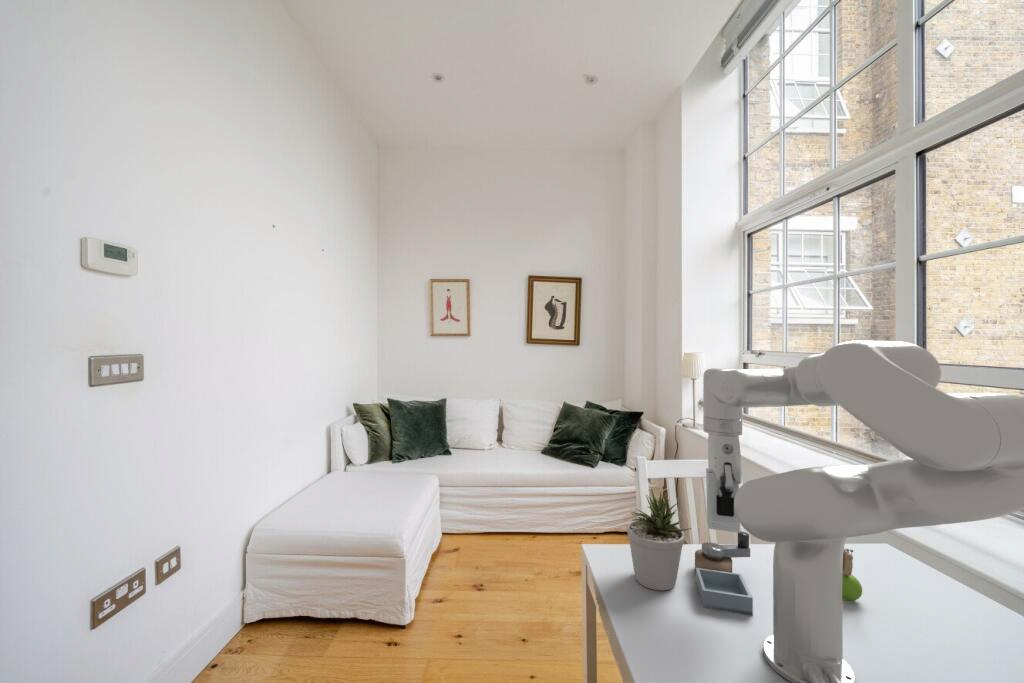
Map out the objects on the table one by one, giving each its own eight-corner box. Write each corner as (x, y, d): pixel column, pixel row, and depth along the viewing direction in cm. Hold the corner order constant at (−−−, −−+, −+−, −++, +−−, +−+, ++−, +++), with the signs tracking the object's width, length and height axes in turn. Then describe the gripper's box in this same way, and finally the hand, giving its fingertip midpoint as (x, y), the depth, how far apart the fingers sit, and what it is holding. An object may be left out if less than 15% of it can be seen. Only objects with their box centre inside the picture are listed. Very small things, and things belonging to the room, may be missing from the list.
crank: (708, 561, 96) (708, 539, 96) (697, 550, 101) (697, 530, 101) (755, 559, 96) (755, 538, 97) (741, 549, 101) (741, 529, 102)
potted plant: (699, 597, 89) (699, 504, 89) (635, 596, 89) (635, 503, 89) (677, 566, 101) (677, 484, 102) (620, 565, 102) (621, 484, 102)
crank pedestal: (736, 585, 93) (736, 568, 93) (697, 580, 95) (697, 562, 96) (727, 566, 102) (727, 550, 102) (692, 561, 104) (692, 545, 104)
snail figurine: (833, 604, 87) (833, 546, 87) (827, 588, 93) (827, 534, 93) (867, 612, 84) (866, 552, 85) (858, 595, 90) (858, 540, 90)
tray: (752, 615, 83) (752, 597, 83) (702, 607, 85) (702, 590, 85) (740, 589, 92) (740, 573, 92) (695, 583, 94) (695, 567, 94)
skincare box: (736, 525, 90) (736, 469, 90) (740, 534, 86) (740, 475, 86) (705, 521, 92) (705, 466, 92) (707, 529, 88) (707, 472, 88)
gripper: (753, 434, 80) (753, 529, 80) (732, 420, 96) (732, 499, 96) (710, 432, 82) (710, 524, 82) (697, 418, 98) (697, 495, 98)
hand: (722, 509), depth 89 cm, fingers closed on skincare box, 4 cm apart
